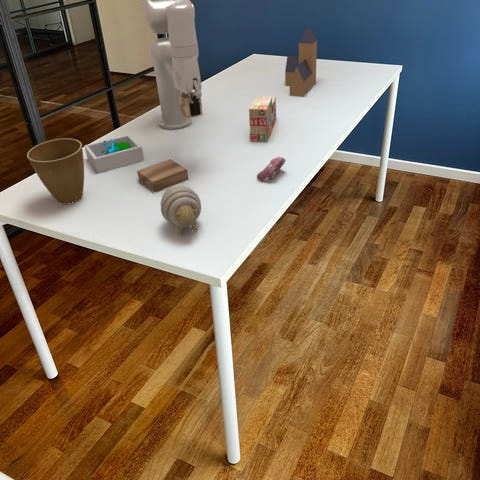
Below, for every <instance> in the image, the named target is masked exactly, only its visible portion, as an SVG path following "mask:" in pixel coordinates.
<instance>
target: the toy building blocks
mask: <svg viewBox="0 0 480 480" xmlns="http://www.w3.org/2000/svg"><path fill="white" fill-rule="evenodd" d="M317 52H318V40H317V37H316V36H315V35H314V32H313V31H312V30H311V28H310V27H309V26H307V28H306V30H305V32H304V34H303V36H301V39H300V41H299V42H298V56H297V55H287V56H286V57H287V58H286V64H285V71H284V72H285V73H284V81H285V82H284V83H285V85H284V86H285V87H289V96H290V97H299V98H304V97H305V96H306V95H307V94H308V93H309V92H310V91H311V90H312V88H313V87H314V86H316V83H317V82H316V81H317V57H318V56H317V55H318V53H317Z"/></svg>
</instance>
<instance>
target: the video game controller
mask: <svg viewBox="0 0 480 480" xmlns="http://www.w3.org/2000/svg"><path fill="white" fill-rule="evenodd" d="M286 161H287V160H286V159H285V158H284V157H281V156H280V155H278V156H277V157H274V158H272V159H271V160H270V162H269V164H267V166H266V167H265V168H264V169H263V170H261V171H260V172H258V173H257V175H256V179H257V180H258V181H265V180H267V179H268V178H269V179H272V178H273V177H274V176H275V175H277V174H278V173H279V172H280V170H281V168H282V167H283V166H284V164H285V162H286Z"/></svg>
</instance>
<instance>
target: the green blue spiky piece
mask: <svg viewBox="0 0 480 480" xmlns="http://www.w3.org/2000/svg"><path fill="white" fill-rule="evenodd" d="M110 139H111V140H112V147H110V146H108V145H107V143H106V142H105V141H106V140H107V139H105V141H104V140H102V141H103V142H104V143H105V144H104V143H103V144H102V145H105V146H106V147H107V148H108V149H109V151H102V152H101V153H106V154H105V155H107V154H111V153H115V152H119V151H122V150H126V149H130V146H129V145H128V144H127V143H124V142H122V143H120V144H117V143H116V144H115V145H114V143H113V139H112V138H110Z"/></svg>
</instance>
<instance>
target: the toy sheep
mask: <svg viewBox="0 0 480 480" xmlns="http://www.w3.org/2000/svg"><path fill="white" fill-rule="evenodd" d="M201 212H202V202H201V198H200V197H199V195H198V194H197V193H196V192H195V191H194V190H193V189H192V188H190V187H189V186H185V185H184V184H176V185H174V186H171V187H168V188H166V190H165V191H164V192H163V194H162V198H161V200H160V213H161V216H162V218H163V219H164V220H165V221H166V222H167V223H168V224H169V225H171V226H173V227H175V232H176V235H177V236H181V235H182V234H183V233H182V228H188V227H189V228H190V229H191V231H192V230H193V231H192V232H196V231H197V224H196V222H197V220H198V218H199V217H200V215H201ZM195 230H196V231H195ZM181 233H182V234H181ZM180 234H181V235H180Z"/></svg>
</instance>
